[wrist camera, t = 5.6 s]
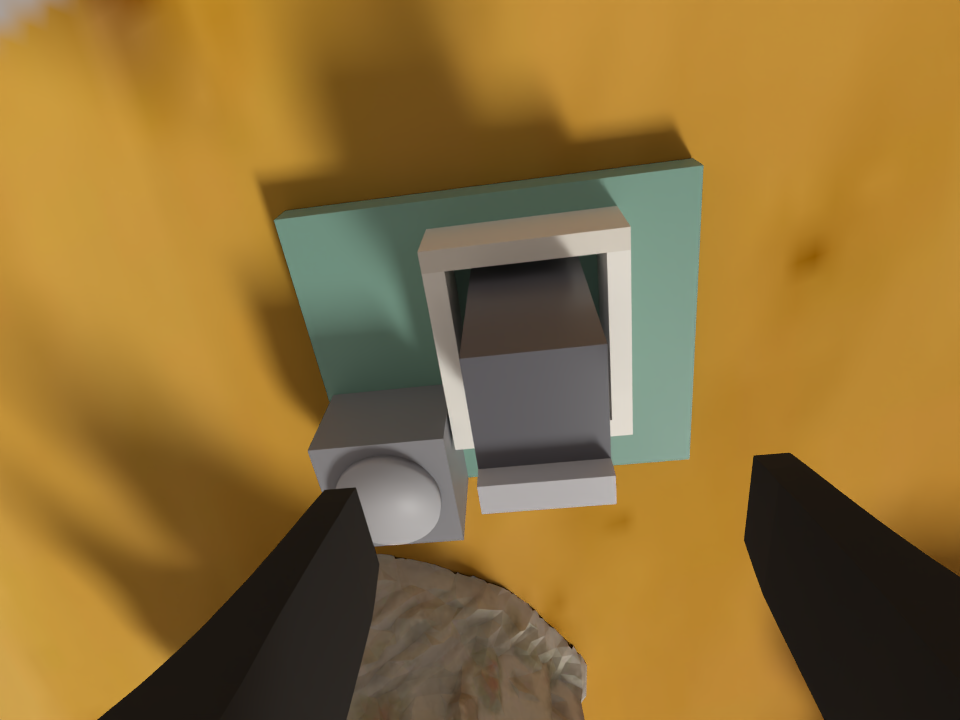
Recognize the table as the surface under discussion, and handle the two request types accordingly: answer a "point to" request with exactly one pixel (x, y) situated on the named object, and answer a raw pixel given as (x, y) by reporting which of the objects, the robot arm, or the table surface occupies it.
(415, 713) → the grey jagged lump
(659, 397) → the board
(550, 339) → the plug
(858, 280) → the table surface
